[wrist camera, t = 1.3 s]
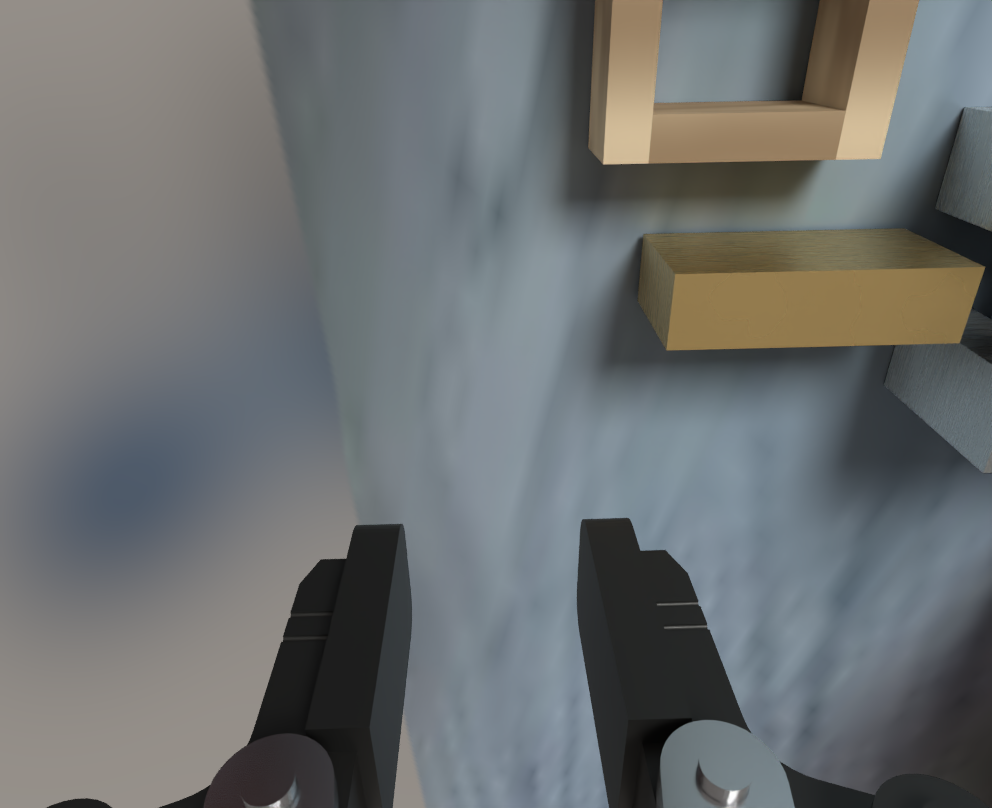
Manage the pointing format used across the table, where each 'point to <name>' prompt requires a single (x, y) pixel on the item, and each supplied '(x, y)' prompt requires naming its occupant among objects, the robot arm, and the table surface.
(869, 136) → the wooden square frame
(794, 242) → the bar
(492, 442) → the table surface
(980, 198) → the socket block
